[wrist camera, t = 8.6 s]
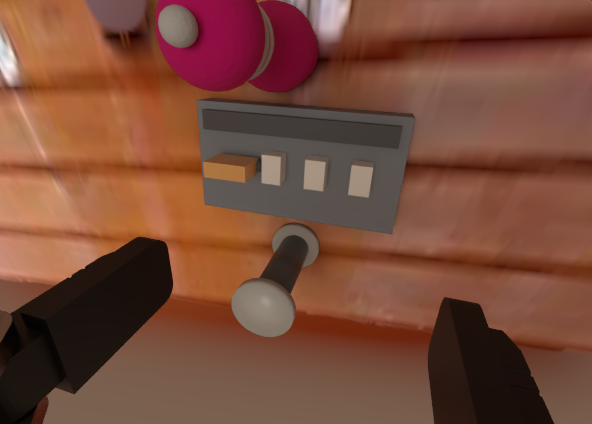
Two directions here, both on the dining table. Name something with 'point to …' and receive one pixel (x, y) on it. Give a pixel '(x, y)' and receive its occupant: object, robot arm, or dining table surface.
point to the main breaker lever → (232, 167)
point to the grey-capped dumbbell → (276, 283)
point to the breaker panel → (297, 155)
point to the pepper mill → (236, 43)
